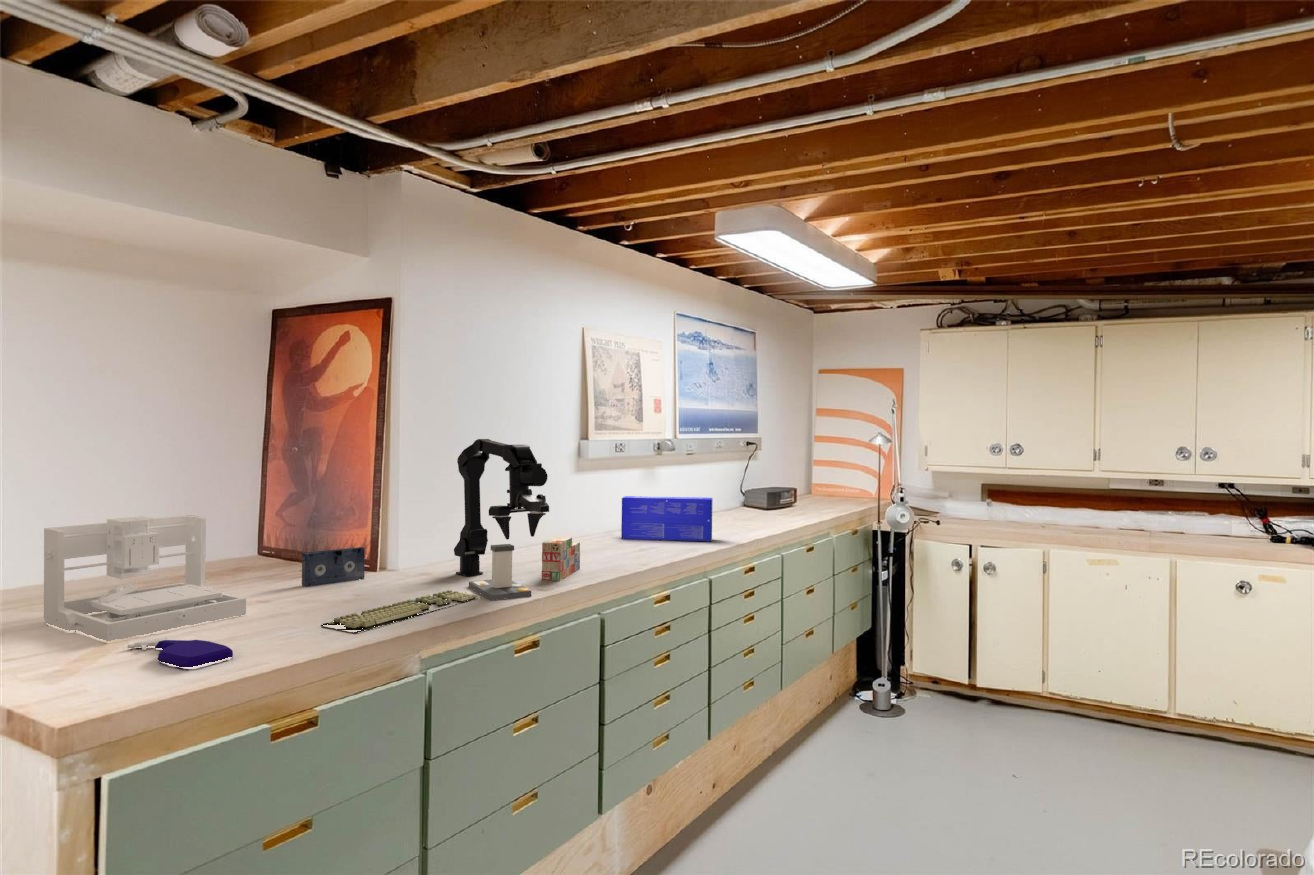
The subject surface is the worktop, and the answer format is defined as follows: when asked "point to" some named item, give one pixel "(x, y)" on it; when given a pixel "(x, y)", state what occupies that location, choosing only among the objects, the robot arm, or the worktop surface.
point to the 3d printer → (128, 557)
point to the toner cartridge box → (666, 518)
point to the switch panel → (499, 590)
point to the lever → (502, 565)
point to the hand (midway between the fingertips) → (520, 537)
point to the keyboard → (398, 611)
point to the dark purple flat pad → (186, 651)
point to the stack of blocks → (560, 558)
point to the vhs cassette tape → (332, 566)
